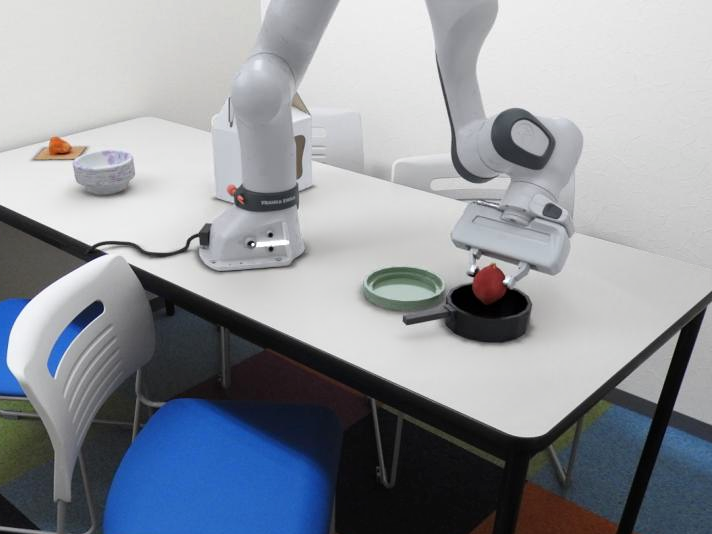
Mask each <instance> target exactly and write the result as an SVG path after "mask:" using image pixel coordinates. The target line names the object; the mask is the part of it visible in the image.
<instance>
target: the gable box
mask: <svg viewBox="0 0 712 534" xmlns="http://www.w3.org/2000/svg"><path fill="white" fill-rule="evenodd" d="M291 111H292V123H293V132H294V139H295V143H296V182H297V183H298V187H299V192H301V191H303V190H306V189H308V188H311V187H312V186H313V161H312V160H313V121H312V120H313V117H312V115H311V113H310V110H309V109H308V108H307V106H306V104H305V102H304V101H303V100H302V98H301V96H300V94H299V93H298V91H297V92H296V93H295V95H294V97H293V99H292V104H291ZM210 127H211V143H212V156H213V157H212V158H213V169H214V184H215V197H216V199H217V200H221V201H224V202H228V203H230V204H234V197H233V196H230V195H229V193H228V192H227V187H228V186H229V185H234V186H235V187H236V188H237V189H238V188H239V187H240V185H241V184H242V183H243V182H242V164H241V148H240V141H239V135H238V131H237V126H236V121H235V114H234V108H233V106H232V103H231V94H230V95H229V96H228V97H227V99H226V100H225V102H224V104H223V105H222V107H221V109H220V110H219V113H218V115H217V116H216V118H215V120H214V121H213V124H212V125H211V126H210Z"/></svg>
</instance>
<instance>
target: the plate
mask: <svg viewBox="0 0 712 534" xmlns="http://www.w3.org/2000/svg"><path fill="white" fill-rule="evenodd" d="M446 286H447V284H446V282H445V279H444V278H443V277H441V275H440V274H438V273H437V272H434V271H432V270H429V269H427V268H423V267H418V266H412V265H410V266H409V265H390V266H385V267H380V268H377V269H375V270H372V271H370V272H369V273H368V274H366V275H365V277H364V279H363V282H362V291H363V295H364V297H365V298H366V299H367V300H368V301H369V302H371V303H373V304H375V305H377V306H378V307H383V308H385V309H390V310H395V311H419V310H424V309H425V310H426V309H429V308H431V307H433V306H436V305H438V304H440V302H442V301H443V300H444V297H445V294H446Z"/></svg>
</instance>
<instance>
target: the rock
mask: <svg viewBox="0 0 712 534" xmlns="http://www.w3.org/2000/svg"><path fill="white" fill-rule="evenodd" d="M85 149H86V146H72V145H71V144H70V143H69V142H68V141H65V140H64V139H62V138H60V137H59V136H52V137H50V138H49V142H48V147H45V148H44V149H43V150H42V151H41V152H40V153H39V154H38V155H37V156H36V157H35V158H34V160H75V159H76V158H77V157H79V156H81V154H82V153H83V152H84V150H85Z"/></svg>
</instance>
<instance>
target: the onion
mask: <svg viewBox="0 0 712 534" xmlns="http://www.w3.org/2000/svg"><path fill="white" fill-rule="evenodd" d="M505 277H506V274H505V273H504V271H503V270H502V269H501V268H500V267H498V266H497V263H496V262H491V263H490V264H489V265H487V266H484V267H483V268H481V269H480V271H479V272H478V273H477V274H476V276H475V277H474V278H473V280H472V282H473V285H472V288H473V292H474V294H475V296H476V297H477V298H478V299H479V300H480V301H482V302H483V304H485V305H490V304H492V303H493V302H495V301H497V300H499V299H500V298H502V297H503V295H504V294H505V292H506V289H507V288H505V287H504V286H503V285H502V284H503V281H504V280H505Z"/></svg>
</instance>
